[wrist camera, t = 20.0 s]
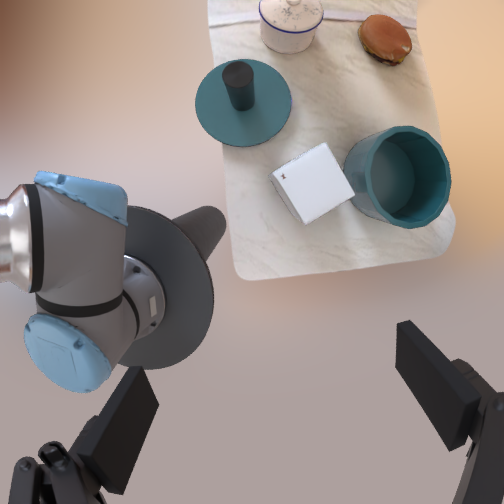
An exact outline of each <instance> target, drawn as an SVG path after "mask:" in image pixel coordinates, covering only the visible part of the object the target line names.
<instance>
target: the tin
mask: <svg viewBox="0 0 504 504" xmlns="http://www.w3.org/2000/svg"><path fill="white" fill-rule="evenodd" d="M343 173H344V175H345V177H346V179H347V181H348V182H349V184H350V186H351V188H352V190H353V192H354V193H355V196H353V197H351V198H350V200H351V201H352V203H353V204H354V206H356V207H357V208H358V209H359V210H360V211H361V212H363V213H364V214H365V215H367V216H369V217H372V218H375V219H378V220H381V221H384V222H387V223H390V224H393V225H396V226H400V227H403V228H407V229H412V228H418V227H423V226H426V225H427V224H429V223H430V222H431V221H433V220H434V219H436V218H437V217H438V216H439V215H440V213H441V212H442V210H443V208H444V207H445V205H446V203H447V202H448V198H449V193H450V188H451V174H450V168H449V162H448V160H447V158H446V156H445V154H444V152H443V150H442V147H441V146H440V145H439V144H438V143H437V142H436V141H435V140H434V139H433V138H432V137H431V136H430V135H429V134H428V133H427V132H425V131H423V130H420V129H418V128H415V127H413V126H397V127H392V128H389V129H387V130H384V131H381V132H379V133H376V134H374V135H371V136H368V137H367V138H365V139H363V140H361V141H360V142H358V143H357V144H355V146H354V147H353V148H352V149H351V151H350V152H349V154H348V156H347V158H346V160H345V164H344V170H343Z"/></svg>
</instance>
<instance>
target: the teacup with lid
mask: <svg viewBox="0 0 504 504" xmlns="http://www.w3.org/2000/svg"><path fill="white" fill-rule="evenodd" d="M259 12H260V15H261V18H260V33H261V37H262V40H263V41H264V43H265V44H266V45H267V46H268V47H269V48H271V49H273V50H274V51H277V52H280V53H285V54H293V53H298V52H301V51H303V50H305V49H306V48H307V47H308V46H309V45H310V44H311V42H312V40H313V37H314V34H315V32H316V29H317V27H318V25H319V24H320V23H321V21H322V19H323V8H322V5H321V3H320V1H319V0H261V1H260V3H259Z"/></svg>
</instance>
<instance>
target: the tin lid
mask: <svg viewBox="0 0 504 504" xmlns="http://www.w3.org/2000/svg"><path fill="white" fill-rule="evenodd" d="M195 107H196V113H197V117H198V119H199V122H200V123H201V125H202V127H203V128H204V129H205V130H206V131H207V133H208V134H210V135H211V136H212V137H213V138H215V139H216V140H218V141H220V142H222V143H224V144H227V145H231V146H237V147H247V146H254V145H258V144H260V143H263V142H265V141H267V140H269V139H271V138H272V137H273V136H275V135H276V134H277V133H278V132H279V131H280V130H281V129H282V127H283V126H284V124H285V123H286V121H287V119H288V117H289V113H290V110H291V95H290V91H289V88H288V85H287V83H286V82H285V80H284V78H283V77H282V76H281V75H280V74H279V73H278V72H277V71H276V70H275V69H273V68H272V67H271V66H269V65H267V64H265V63H262V62H259V61H256V60H249V59H239V60H233V61H229V62H226V63H223V64H221V65H219V66H217V67H216V68H214V69H213V70H212V71H211V72H210V73H208V74H207V76H206V77H205V78H204V79H203V81H202V82H201V84H200V86H199V88H198V91H197V94H196V101H195Z"/></svg>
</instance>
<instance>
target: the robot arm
mask: <svg viewBox="0 0 504 504" xmlns="http://www.w3.org/2000/svg"><path fill="white" fill-rule="evenodd" d="M34 182H35V184H20V185H19V186H18V187H17V188H16V189H15V190H14V191H13V192H12V193H11V194H10V196H9V197H8V198H6V199H0V283H2V282H11V283H13V284H14V285H16V286H17V287H18V288H19V289H20V290H21V291H22V292H24V293H33V292H35V294H36V305H37V314H34V315H33V316H31V317H30V318H29V321H28V323H27V324H26V326H25V329H24V341H25V345H26V348H27V350H28V353H29V355H30V357H31V358H32V360H33V362H34V363H35V364H36V366H37V367H38V368H39V369H40V370H41V371H42V372H43V373H44V374H45V375H46V376H47V377H48V378H49V379H50V380H51V381H53V382H54V383H56V384H57V385H59V386H61V387H63V388H65V389H67V390H70V391H72V392H77V393H88V392H91V391H94V390H95V389H97V388H98V387H100V385H101V384H102V383H103V382H104V381H105V380H107V379H108V378H109V376H110V375H111V372H112V370H113V369H114V368H115V366H116V365H117V363H118V362H119V360H120V359H121V358H122V356H123V355H124V353H125V352H126V351H127V349H128V348H129V347H130V345H131V344H132V342H133V341H135V340H137V339H140V338H142V337H145V336H147V335H148V334H150V333H151V332H153V331H154V330H155V329H156V328H157V327H158V325H159V324H160V322H161V321H162V319H163V317H164V315H165V312H166V307H167V297H166V291H165V288H164V285H163V283H162V281H161V279H160V277H159V275H158V274H157V273H156V271H155V270H154V269H153V268H152V267H151V266H150V265H149V264H148V263H147V262H145V261H144V260H142V259H140V258H138V257H136V256H134V255H130V254H124V251H125V236H126V227H128V222H127V204H128V203H127V202H128V198H127V194H126V192H125V191H124V189H123V188H122V187H120V186H118V185H115V184H110V183H105V182H100V181H95V180H90V179H84V178H79V177H73V176H67V175H62V174H57V173H52V172H46V171H38V172H37V174H36V177H35V178H34ZM396 341H397V342H396V365H395V368H396V369H397V370H398V372H399V373H400V375H401V376H402V378H403V379H404V381H405V382H406V384H407V385H408V387H409V389H410V390H411V391H412V393H413V395H414V396H415V398H416V399H417V401H418V402H419V404H420V405H421V407H422V408H423V410H424V412H425V413H426V415H427V416H428V418H429V420H430V421H431V423H432V424H433V425H434V427H435V429H436V431H437V432H438V434H439V436H440V437H441V439H442V440H443V442H444V444H445V445H446V447H447V449H448V450H449V452H450V451H452V450H454V449H456V448H459V447H460V446H462V445H465V443H466V440H467V438H468V435H469V436H470V438H471V439H472V441H473V442H472V444H471V446H470V448H469V451H468V453H467V455H466V456H467V457H468V458H467V461H466V465H465V468H464V471H463V474H462V477H461V480H460V483H459V486H458V489H457V492H456V495H455V497H454V500H453V502H452V504H501V503H502V500H503V496H504V392H498V393H497V392H496V391H495V390H494V389H493V388H492V387H491V386H490V385H489V384H488V383H487V382H486V381H485V380H484V379H483V378H482V377H481V376H480V375H479V374H478V373H477V372H476V371H475V370H474V369H473V368H472V367H471V366H470V365H469V364H468V363H467V362H465V361H463V360H461V359H456V360H453V361H450V360H449V359H448V358H447V357H446V356H445V355H444V354H443V353H442V352H441V351H440V350H439V349H438V348H437V347H436V346H435V345H434V344H433V343H432V342H431V341H430V340H429V339H428V338H427V337H426V336H425V335H424V334H423V333H422V332H421V331H420V330H419V329H418V328H417V327H416V326H415V325H414V324H413V323H412V322H411V321H410V320H408V321H404V322H401V323H397V339H396ZM158 407H159V403H158V401H157V399H156V397H155V394H154V392H153V390H152V388H151V385H150V383H149V381H148V378H147V376H146V374H145V371H144V369H143V366H130V367H129V368H128V370H127V371H126V373H125V375H124V376H123V378H122V379H121V381H120V383H119V384H118V386H117V387H116V389H115V390H114V392H113V393H112V395H111V397H110V398H109V400H108V401H107V403H106V404H105V406H104V408H103V409H102V411H101V412H100V414H99V416H96V415H95V416H93V417H92V418H91V419H90V420H89V421H87V423H86V425H85V426H84V428H83V430H82V431H81V432H80V434H79V436H78V437H77V439H76V440H75V442H74V443H73V445H72V447H71V448H70V450H69V451H68V452H67V451H66V449H65V448H64V447H63V445H62V444H61V443H60V442H57V441H52V442H48V443H46V444H44V445H43V446H42V447H41V448H40V450H39V451H38V456H39V457H40V459H41V460H42V461H43V463H45V464H38V463H37V462H36V461H35V460H34V458H32V457H23V458H21V459H20V460H18V462H17V463H16V465H15V467H14V472H13V478H12V483H11V489H10V496H9V502H8V504H107V503H106V501H105V499H104V496H103V495H102V493H101V492H100V491H99V490H100V488H101V486H103V487H104V488H105V489H106V490H107V491H108V492H109V493H114V494H119V495H123V494H124V491H125V489H126V486H127V483H128V481H129V478H130V476H131V473H132V471H133V468H134V466H135V463H136V461H137V458H138V455H139V453H140V451H141V448H142V446H143V443H144V441H145V438H146V435H147V433H148V431H149V428H150V426H151V423H152V421H153V419H154V416H155V414H156V411H157V409H158Z"/></svg>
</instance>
